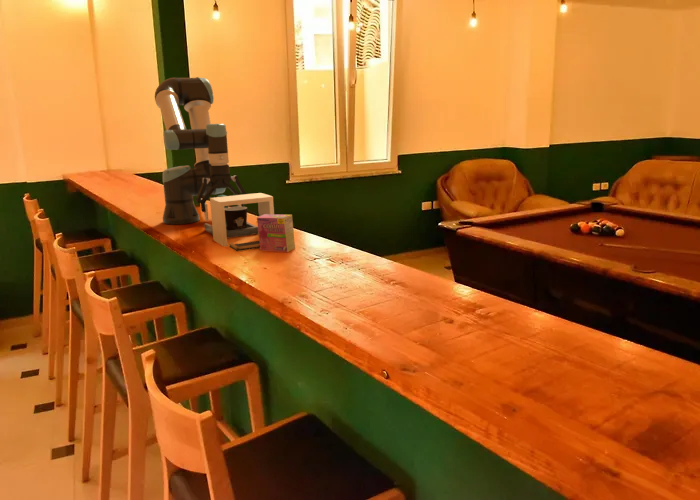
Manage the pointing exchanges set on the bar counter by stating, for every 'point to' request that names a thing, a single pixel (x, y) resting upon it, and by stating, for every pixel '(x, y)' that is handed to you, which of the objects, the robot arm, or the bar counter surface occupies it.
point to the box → (276, 232)
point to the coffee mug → (236, 217)
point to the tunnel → (219, 202)
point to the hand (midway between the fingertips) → (223, 218)
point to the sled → (248, 230)
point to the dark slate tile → (245, 246)
